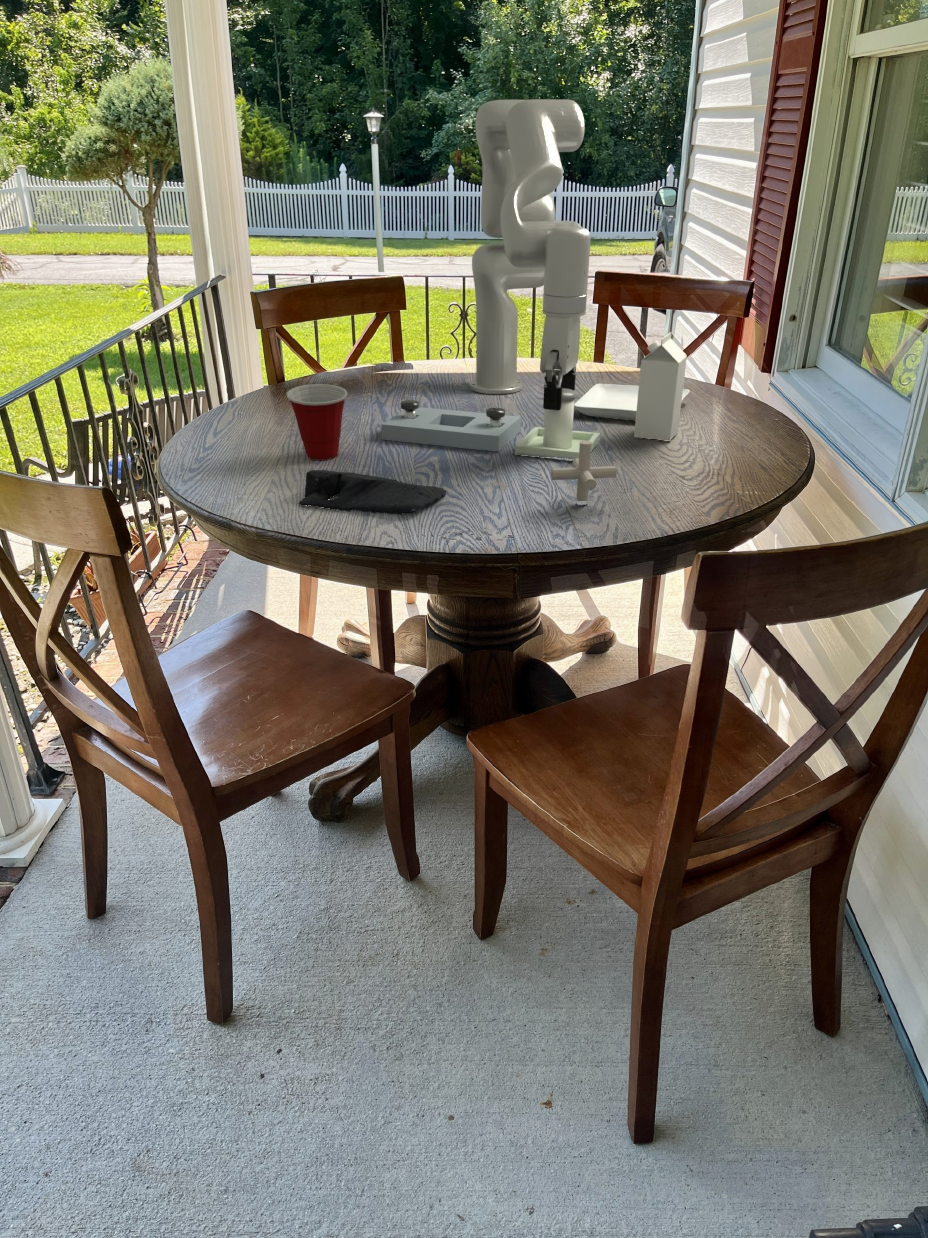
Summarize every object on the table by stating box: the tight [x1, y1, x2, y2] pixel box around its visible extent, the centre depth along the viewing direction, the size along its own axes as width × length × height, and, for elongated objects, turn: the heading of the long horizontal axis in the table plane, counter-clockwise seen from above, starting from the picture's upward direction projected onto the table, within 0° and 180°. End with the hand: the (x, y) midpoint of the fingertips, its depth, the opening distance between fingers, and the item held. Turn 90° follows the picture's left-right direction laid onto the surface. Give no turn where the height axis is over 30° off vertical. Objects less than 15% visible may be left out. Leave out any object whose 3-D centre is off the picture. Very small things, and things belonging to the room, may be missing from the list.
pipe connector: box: [550, 441, 618, 501], centre depth 132 cm, size 10×10×10 cm
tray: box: [514, 426, 601, 459], centre depth 159 cm, size 13×13×2 cm
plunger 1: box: [400, 399, 420, 419], centre depth 168 cm, size 4×4×6 cm
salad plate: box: [574, 383, 690, 421], centre depth 182 cm, size 21×21×3 cm
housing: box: [381, 406, 522, 452], centre depth 166 cm, size 14×24×3 cm, turn 69°
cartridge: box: [543, 388, 577, 449], centre depth 156 cm, size 6×6×10 cm
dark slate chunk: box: [298, 469, 447, 515], centre depth 136 cm, size 15×22×5 cm
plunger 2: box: [485, 407, 506, 427], centre depth 163 cm, size 4×4×6 cm
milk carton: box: [633, 331, 688, 441], centre depth 161 cm, size 7×7×19 cm
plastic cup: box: [286, 383, 348, 461], centre depth 154 cm, size 11×11×12 cm
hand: (559, 401), depth 155 cm, fingers open, 9 cm apart
